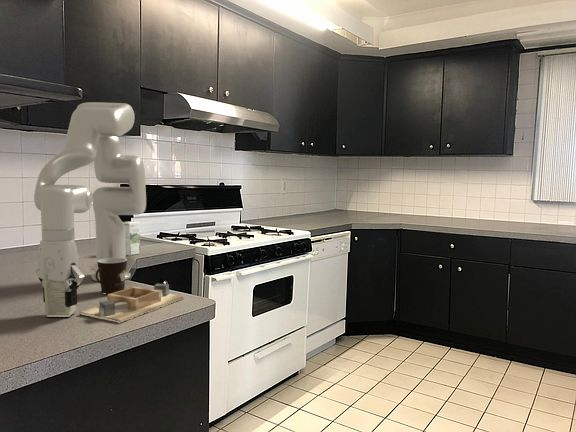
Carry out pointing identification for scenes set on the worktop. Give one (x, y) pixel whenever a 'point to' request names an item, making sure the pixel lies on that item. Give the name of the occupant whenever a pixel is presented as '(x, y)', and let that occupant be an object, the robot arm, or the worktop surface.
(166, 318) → the worktop surface
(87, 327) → the worktop surface
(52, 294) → the skincare box
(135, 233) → the syrup box
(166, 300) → the board
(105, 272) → the coffee mug
